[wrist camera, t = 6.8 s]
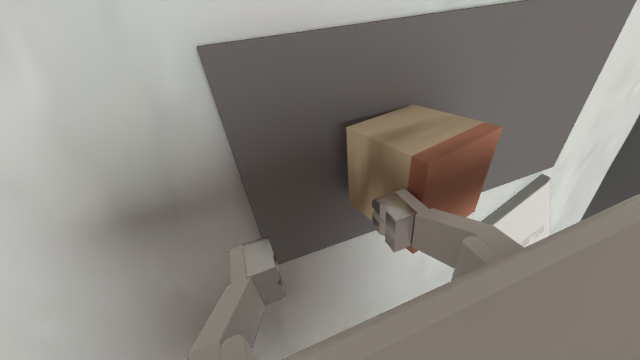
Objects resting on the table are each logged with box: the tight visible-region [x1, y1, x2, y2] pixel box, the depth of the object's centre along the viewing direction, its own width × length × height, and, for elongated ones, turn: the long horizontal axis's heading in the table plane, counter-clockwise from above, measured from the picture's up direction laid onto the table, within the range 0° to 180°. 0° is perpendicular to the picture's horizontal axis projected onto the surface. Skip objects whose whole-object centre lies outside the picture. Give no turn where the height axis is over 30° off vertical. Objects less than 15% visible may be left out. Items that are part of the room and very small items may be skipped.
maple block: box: [346, 105, 503, 254], centre depth 13 cm, size 5×5×5 cm
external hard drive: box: [481, 174, 551, 247], centre depth 29 cm, size 2×8×12 cm
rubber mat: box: [197, 0, 636, 264], centre depth 17 cm, size 14×28×1 cm, turn 97°
